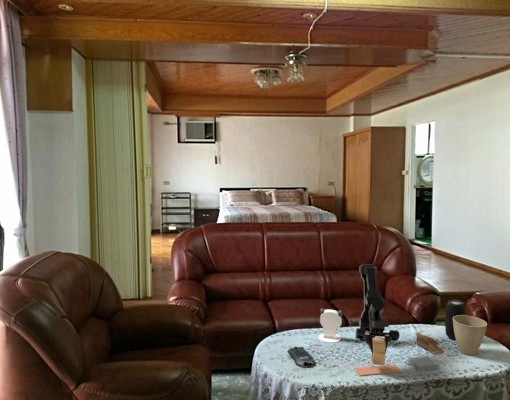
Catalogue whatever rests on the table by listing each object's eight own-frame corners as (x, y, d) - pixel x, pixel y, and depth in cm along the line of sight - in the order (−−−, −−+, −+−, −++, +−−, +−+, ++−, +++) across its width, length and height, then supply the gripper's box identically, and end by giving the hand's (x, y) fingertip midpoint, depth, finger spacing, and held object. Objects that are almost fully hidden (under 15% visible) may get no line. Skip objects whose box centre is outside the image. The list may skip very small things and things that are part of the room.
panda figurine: (342, 334, 223) (342, 307, 222) (341, 343, 212) (342, 315, 211) (319, 332, 226) (320, 305, 225) (318, 341, 215) (318, 313, 214)
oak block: (371, 358, 187) (372, 337, 186) (382, 359, 187) (383, 338, 186) (373, 364, 182) (373, 342, 181) (384, 364, 182) (385, 343, 181)
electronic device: (285, 358, 200) (299, 368, 186) (286, 346, 201) (300, 355, 187) (302, 357, 203) (317, 367, 189) (303, 346, 204) (318, 355, 190)
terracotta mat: (359, 376, 180) (359, 375, 180) (353, 369, 186) (353, 368, 186) (401, 372, 184) (401, 370, 184) (394, 365, 190) (395, 364, 190)
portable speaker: (466, 341, 216) (468, 304, 214) (448, 341, 216) (450, 304, 214) (458, 334, 224) (460, 299, 222) (441, 334, 224) (443, 298, 222)
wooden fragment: (447, 355, 200) (447, 353, 200) (423, 355, 201) (423, 352, 201) (429, 334, 225) (429, 332, 225) (408, 333, 226) (408, 331, 226)
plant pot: (466, 361, 194) (468, 328, 193) (444, 347, 208) (445, 316, 207) (492, 357, 198) (494, 324, 196) (469, 344, 212) (470, 313, 211)
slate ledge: (417, 370, 185) (418, 366, 185) (408, 362, 193) (408, 358, 193) (438, 368, 187) (438, 364, 187) (427, 360, 195) (427, 356, 194)
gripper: (356, 311, 188) (359, 345, 178) (399, 313, 185) (404, 348, 175) (354, 321, 196) (356, 354, 186) (395, 323, 194) (399, 357, 184)
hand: (378, 353), depth 183 cm, fingers closed on oak block, 5 cm apart
